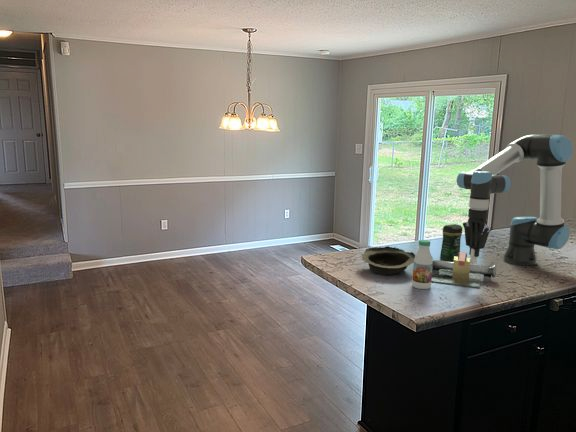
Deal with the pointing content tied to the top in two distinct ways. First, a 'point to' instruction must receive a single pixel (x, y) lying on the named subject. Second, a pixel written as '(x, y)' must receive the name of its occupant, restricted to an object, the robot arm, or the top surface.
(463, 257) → the lever
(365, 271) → the top surface
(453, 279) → the pipe run
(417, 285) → the milk bottle
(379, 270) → the stone bowl
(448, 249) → the coffee jar
